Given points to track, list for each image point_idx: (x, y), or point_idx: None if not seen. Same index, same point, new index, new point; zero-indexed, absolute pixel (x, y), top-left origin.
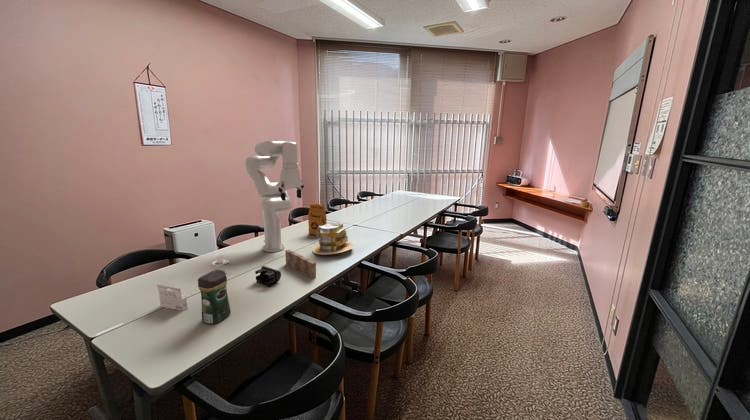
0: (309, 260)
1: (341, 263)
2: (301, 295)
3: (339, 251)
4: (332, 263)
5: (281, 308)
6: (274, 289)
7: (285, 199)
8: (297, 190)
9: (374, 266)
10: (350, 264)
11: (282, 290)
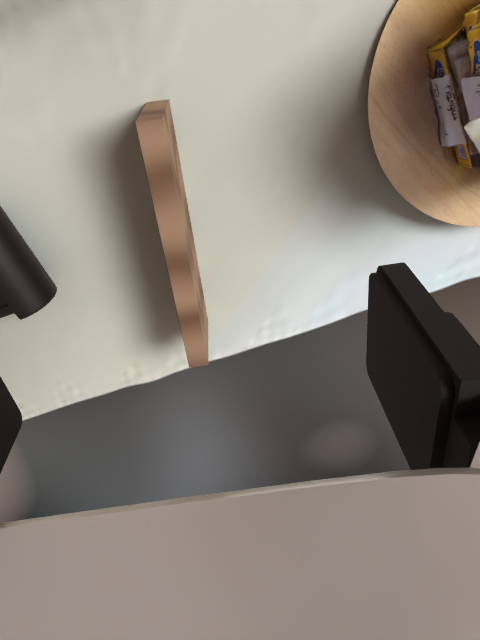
0: (195, 332)
1: None
2: (102, 393)
3: (462, 199)
4: (353, 244)
5: None
6: None
7: (11, 437)
8: (448, 408)
9: None
10: None
11: (50, 338)
